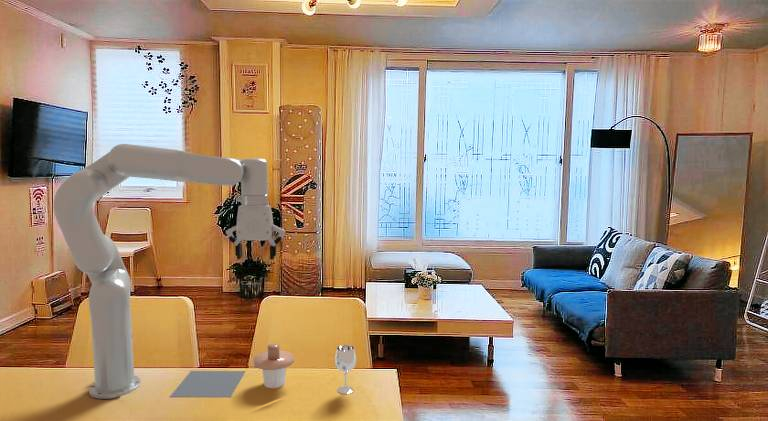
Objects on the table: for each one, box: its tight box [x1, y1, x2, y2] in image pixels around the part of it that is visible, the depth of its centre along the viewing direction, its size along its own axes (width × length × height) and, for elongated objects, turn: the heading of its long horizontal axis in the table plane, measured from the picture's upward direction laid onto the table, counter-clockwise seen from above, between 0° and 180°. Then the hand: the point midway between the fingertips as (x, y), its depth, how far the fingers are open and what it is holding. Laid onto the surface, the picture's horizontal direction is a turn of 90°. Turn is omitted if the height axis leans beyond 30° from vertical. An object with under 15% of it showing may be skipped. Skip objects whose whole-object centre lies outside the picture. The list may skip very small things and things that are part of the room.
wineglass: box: [334, 344, 357, 395], centre depth 142 cm, size 6×6×12 cm
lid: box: [252, 343, 295, 371], centre depth 144 cm, size 11×11×4 cm
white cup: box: [261, 367, 287, 389], centre depth 145 cm, size 7×7×7 cm
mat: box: [169, 370, 246, 398], centre depth 145 cm, size 16×16×1 cm
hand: (256, 258), depth 154 cm, fingers open, 9 cm apart
